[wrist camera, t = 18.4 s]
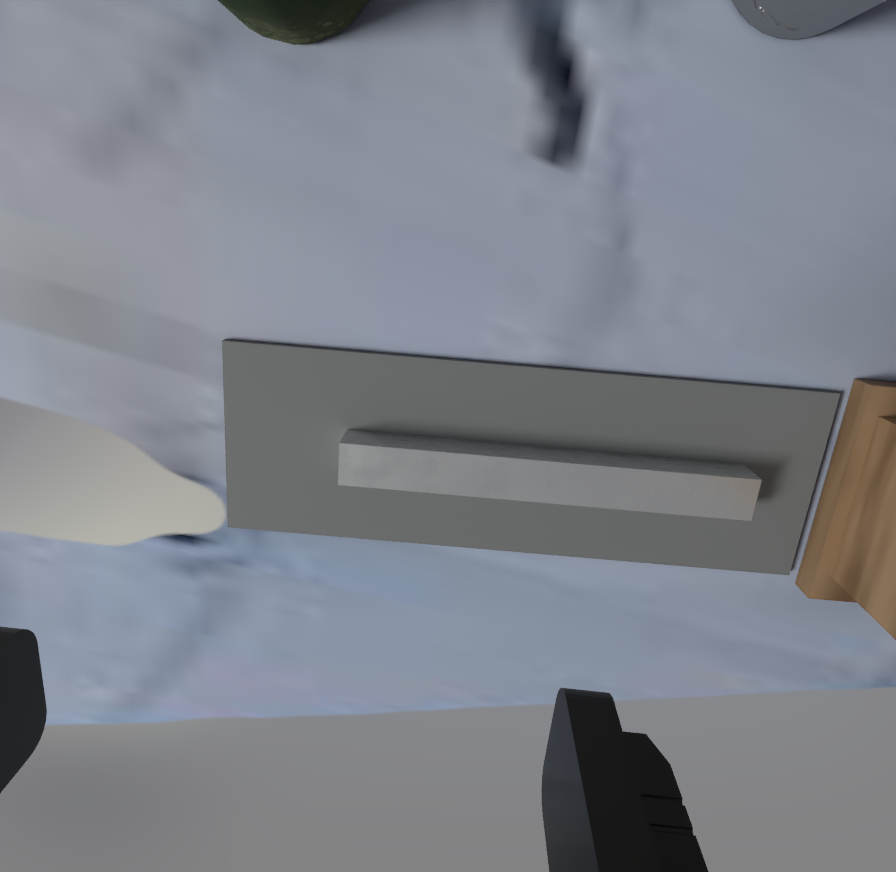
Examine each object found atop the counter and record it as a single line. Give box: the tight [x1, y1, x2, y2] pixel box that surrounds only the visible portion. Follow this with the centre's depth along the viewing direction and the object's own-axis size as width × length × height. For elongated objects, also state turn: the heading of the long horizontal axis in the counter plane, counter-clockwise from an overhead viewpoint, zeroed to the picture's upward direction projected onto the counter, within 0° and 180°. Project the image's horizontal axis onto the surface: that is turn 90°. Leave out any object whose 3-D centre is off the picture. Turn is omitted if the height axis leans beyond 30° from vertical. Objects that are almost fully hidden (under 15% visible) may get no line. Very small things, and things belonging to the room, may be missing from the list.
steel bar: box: [338, 429, 762, 521], centre depth 44 cm, size 28×3×3 cm, turn 85°
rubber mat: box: [222, 339, 840, 575], centre depth 46 cm, size 42×14×1 cm, turn 85°
